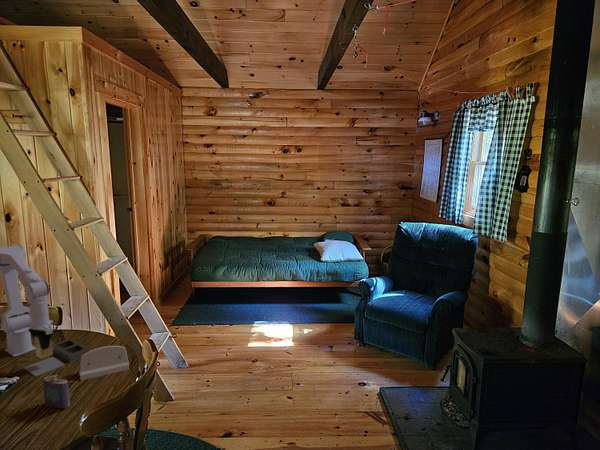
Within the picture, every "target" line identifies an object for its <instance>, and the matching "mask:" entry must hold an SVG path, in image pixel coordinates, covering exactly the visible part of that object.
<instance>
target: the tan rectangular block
mask: <svg viewBox="0 0 600 450" xmlns="http://www.w3.org/2000/svg"><path fill="white" fill-rule="evenodd" d="M34 337H35V341H34V344H35V346H34V347H35V348H36V349H35V354H36V357H38V358H39V359H41V360H42V359H45V358H49V357H51V356H53V355H54V352H53V351H52V345H53V344H52V343H53V341H52V339H51V340H50V345H49V348H47V349H44V350H42V348H41V345H40V341H39V339H38V337H37V336H34Z"/></svg>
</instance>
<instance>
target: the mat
mask: <svg viewBox="0 0 600 450" xmlns="http://www.w3.org/2000/svg"><path fill="white" fill-rule="evenodd" d="M65 365H66V364H65V363H64V362H62V361H60V360H59V359H58V358H56V357H54V356H50V357H47V358H46V359H45V358H44V359H43V360H39V361H38V362H35V363H32V364H30V365H27V366H24V367H23V369H24V370H26V371H27V372H28V373H29V374H31V375H32V376H34V377H35V378H36V377H40V376H42V375H45V374H47V373H49V372H52V371H54V370H57V369H59V368H61V367H64V366H65Z"/></svg>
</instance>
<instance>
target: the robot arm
mask: <svg viewBox="0 0 600 450" xmlns="http://www.w3.org/2000/svg"><path fill="white" fill-rule="evenodd" d="M26 256H27V254H26V249H25V246H24V245H22V244H18V245H10V246H3V247H0V276H1V279H2V284H3V285H2V286H3V289H4V294H5V299H6V302H7V307H8V308H7V309H6V310H5V311H4V312H3V313H2V315H1V328H2V330H3V332H4V333H6V343H7V348H5V349H4V351H5V352H6V353H8V354H10V355H11V356H12V357H18V356H20V355H23V354H27V353H29V352H31V351H32V352H33V351H36V346H34V345H33V344H32V338H33V340H34V342H35V337H34V336H37V337H38V339H39V341H40V345H41V348H42V350H44V349H47V348H49V345H50V340H51V341H52V336H53V335H54V332H55V329H53V327H52V325H51V324H53V323H54V321H53V320H52V319H50V314H49V313H50V312H49V305H48V295H49V294H50V286H49V283H48V281H47V280H46V279H44V278H41V277H40V276H39V275H38V274H37V272H36V270H35V269H33V268H31V267H29V265H28V263H27V262H26ZM17 273H18V274H17ZM19 282H20V284H21V285H22V287H23V289H24V290H23V291H24V295H25V298H26V302H27V304H28V306H24V304H23V301H22V296H21V290H20V285H19Z"/></svg>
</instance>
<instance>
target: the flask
mask: <svg viewBox="0 0 600 450" xmlns="http://www.w3.org/2000/svg"><path fill="white" fill-rule="evenodd" d="M58 377H59V375H58V374H57V373H56V374H54V375H53V374H52V375H49V376H45V377H44V378H43V379H42V382H43V392H44V393H43V396H44V406H46V407H49V408H53V409H56V410H57V409H59V410H67V409H68V408H69V407H71V401H70V391H69V380H67V379H62V378H60V379H59V378H58Z"/></svg>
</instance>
